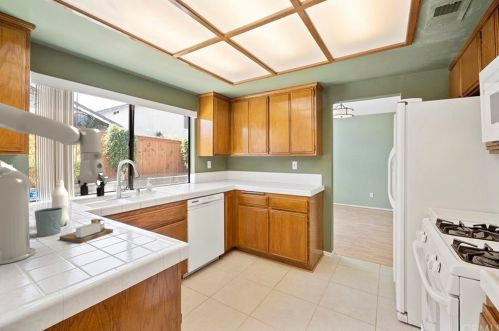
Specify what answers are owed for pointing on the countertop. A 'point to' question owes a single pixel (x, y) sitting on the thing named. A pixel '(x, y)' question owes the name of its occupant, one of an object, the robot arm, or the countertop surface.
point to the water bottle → (61, 201)
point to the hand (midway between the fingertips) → (92, 195)
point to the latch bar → (90, 229)
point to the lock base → (73, 238)
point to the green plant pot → (48, 221)
